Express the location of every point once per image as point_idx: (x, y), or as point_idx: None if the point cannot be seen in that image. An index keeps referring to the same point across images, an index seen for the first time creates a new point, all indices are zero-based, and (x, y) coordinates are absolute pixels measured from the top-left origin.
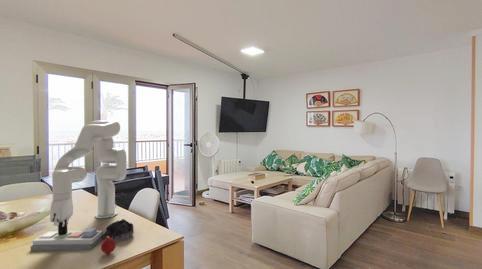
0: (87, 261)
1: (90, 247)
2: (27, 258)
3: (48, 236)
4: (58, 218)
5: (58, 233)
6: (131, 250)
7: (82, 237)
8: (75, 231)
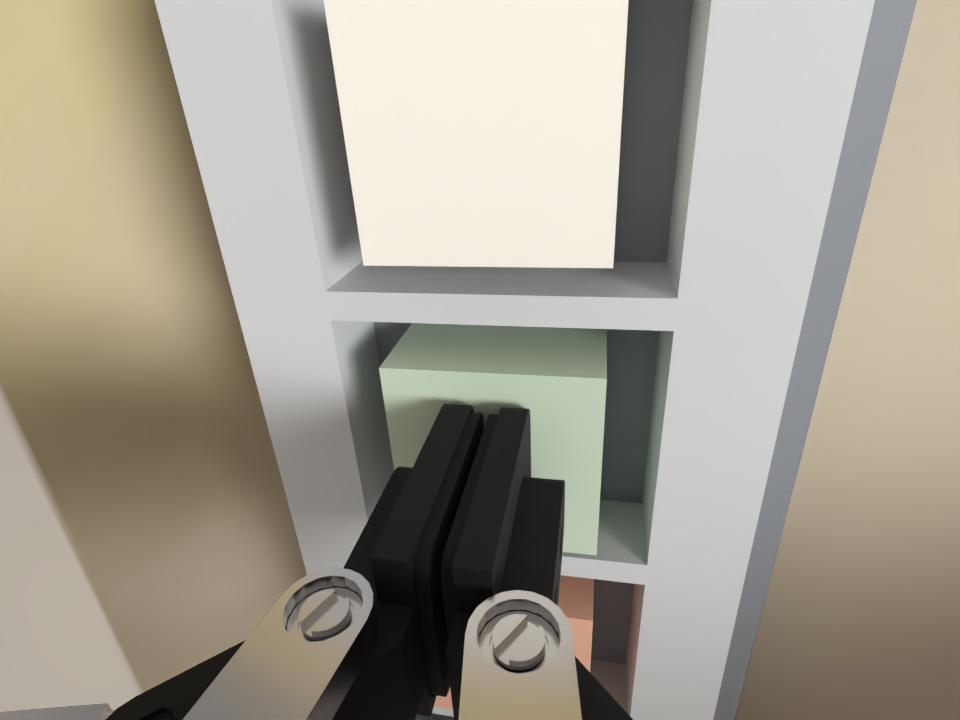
0: None
1: None
2: (19, 132)
3: (359, 200)
4: None
5: (436, 421)
6: None
7: None
8: (701, 587)
